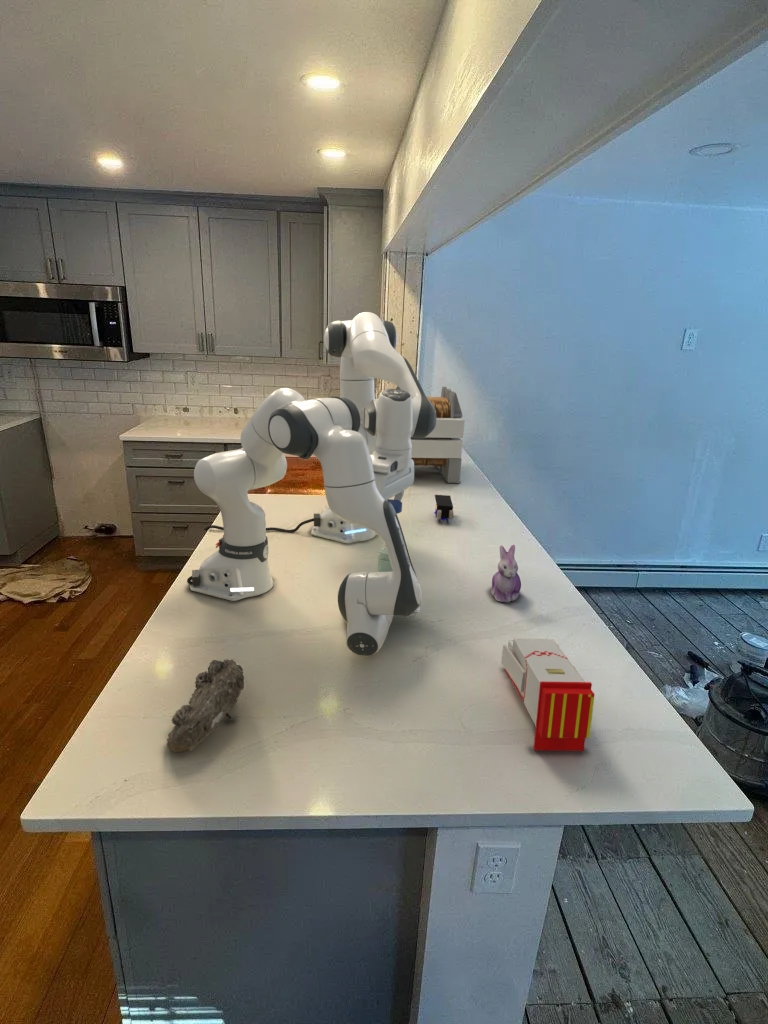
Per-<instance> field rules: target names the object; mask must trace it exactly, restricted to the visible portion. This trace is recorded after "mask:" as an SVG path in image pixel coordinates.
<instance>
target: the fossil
mask: <svg viewBox="0 0 768 1024" xmlns="http://www.w3.org/2000/svg"><path fill="white" fill-rule="evenodd" d="M243 670H244V669H243V667H242V665H240V664H237V662H236V661H235V660H234V659H232V658H231V659H227V658H226V659H224V660H223V661H222V660H217V659H212V660H211V661H210V663H209V665H208V666H207V671H201V672H199V673H198V674H197V675H196V676H195V680H194V684H195V685H194V687H195V689H194V690H193V693H192V694H191V697H190V698H189V700H188V704H184V705H182V706H181V707H180V709H177V710H176V711H175V713H174V715H173V716H172V718H171V723H172V724H173V727H172V730H171V731H170V732H168V734H167V738H166V741H167V742H166V745H167V749H168V750H169V751H173V752H174V753H176V754H178V753H182V752H188V751H189V752H192V751H193V750H195V748H196V747H197V746H199V744H200V743H201V742H203V741H204V740H205V739H206V738H207V737H208V736H209V735H210V734H211V733H212V732H214V730H215V729H217V727H218V726H219V724H220V722H221V721H222V720H223V719H224V718H225V716H226V717H227V719H229V720H233V717H232V715H230V714H229V710H230V709H231V708H234V706H235V704H236V703H237V702H238V699H239V697H240V695H241V693H242V691H243V690H245V689H244V688H245V675H244V671H243Z"/></svg>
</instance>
